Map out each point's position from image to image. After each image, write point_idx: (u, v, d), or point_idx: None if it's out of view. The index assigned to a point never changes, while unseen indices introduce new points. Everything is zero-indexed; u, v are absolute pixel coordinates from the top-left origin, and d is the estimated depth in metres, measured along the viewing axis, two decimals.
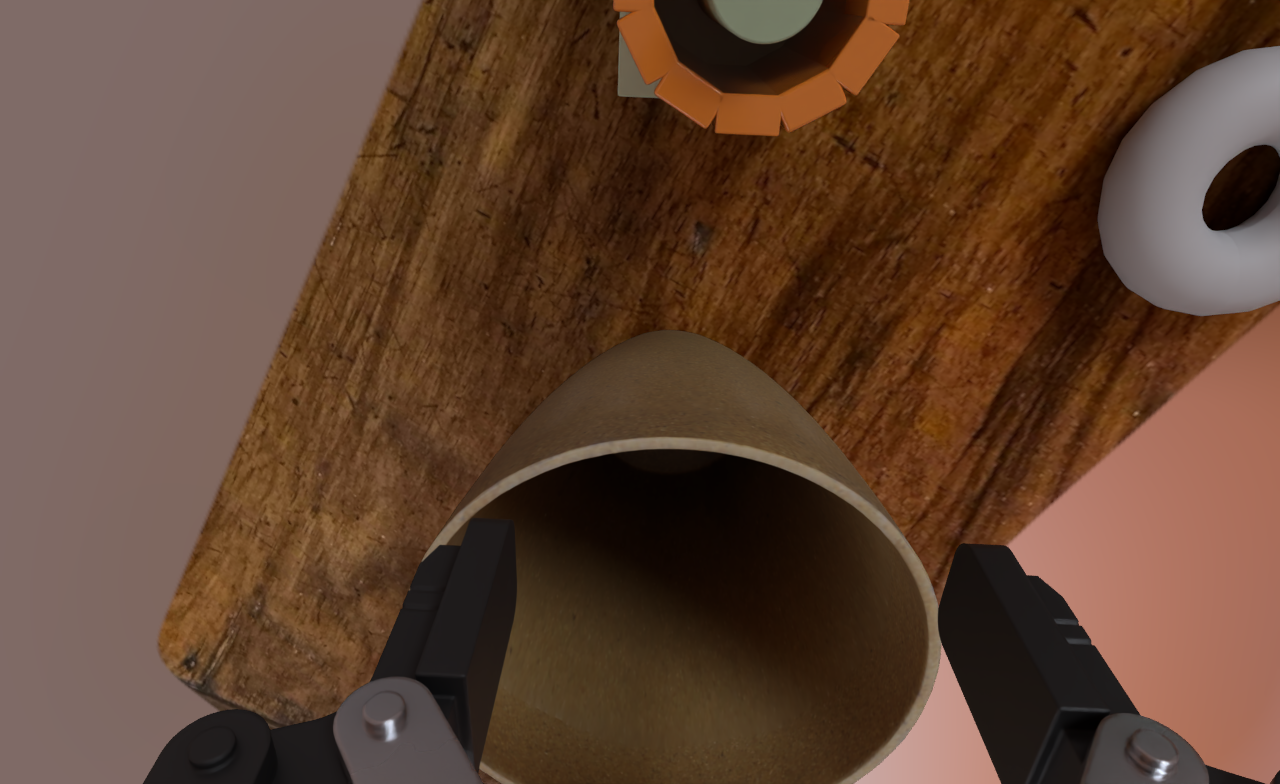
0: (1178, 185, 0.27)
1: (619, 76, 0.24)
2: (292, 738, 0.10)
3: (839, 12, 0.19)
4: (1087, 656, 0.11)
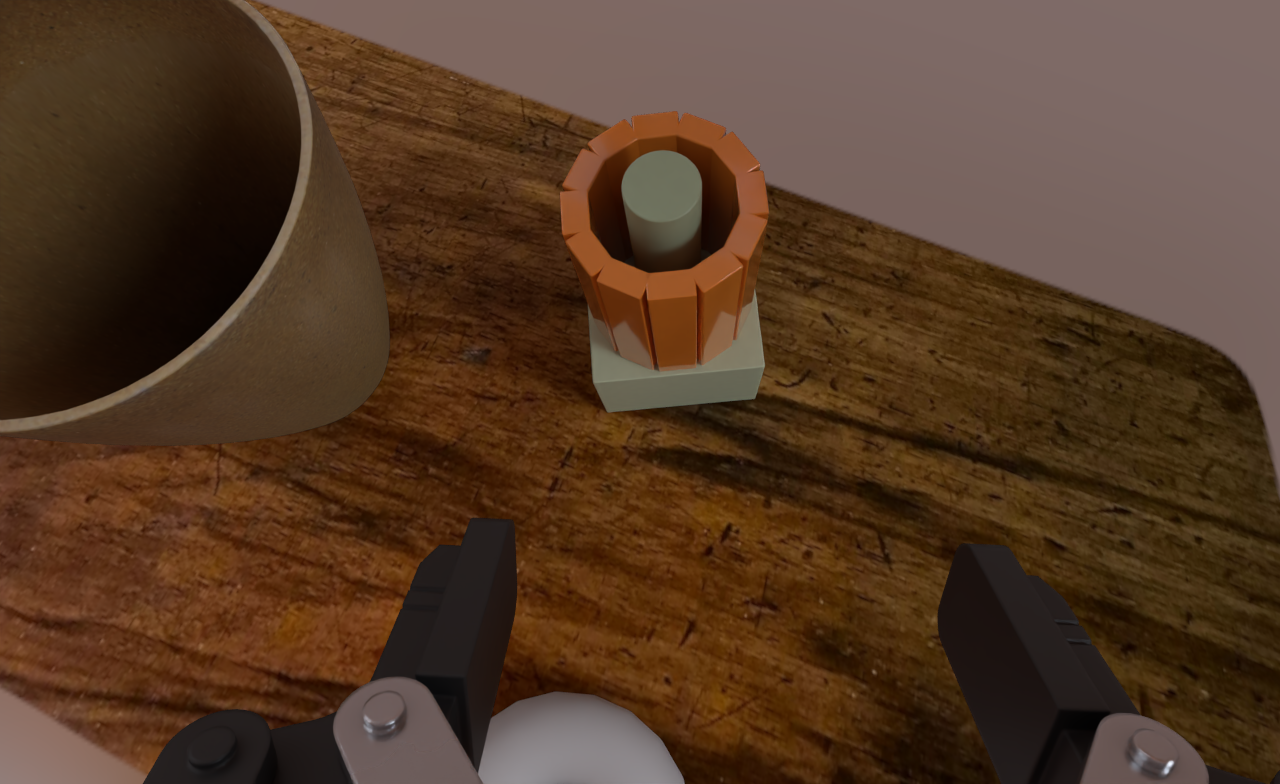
0: (559, 738, 0.28)
1: None
2: (291, 738, 0.10)
3: None
4: (1087, 656, 0.11)
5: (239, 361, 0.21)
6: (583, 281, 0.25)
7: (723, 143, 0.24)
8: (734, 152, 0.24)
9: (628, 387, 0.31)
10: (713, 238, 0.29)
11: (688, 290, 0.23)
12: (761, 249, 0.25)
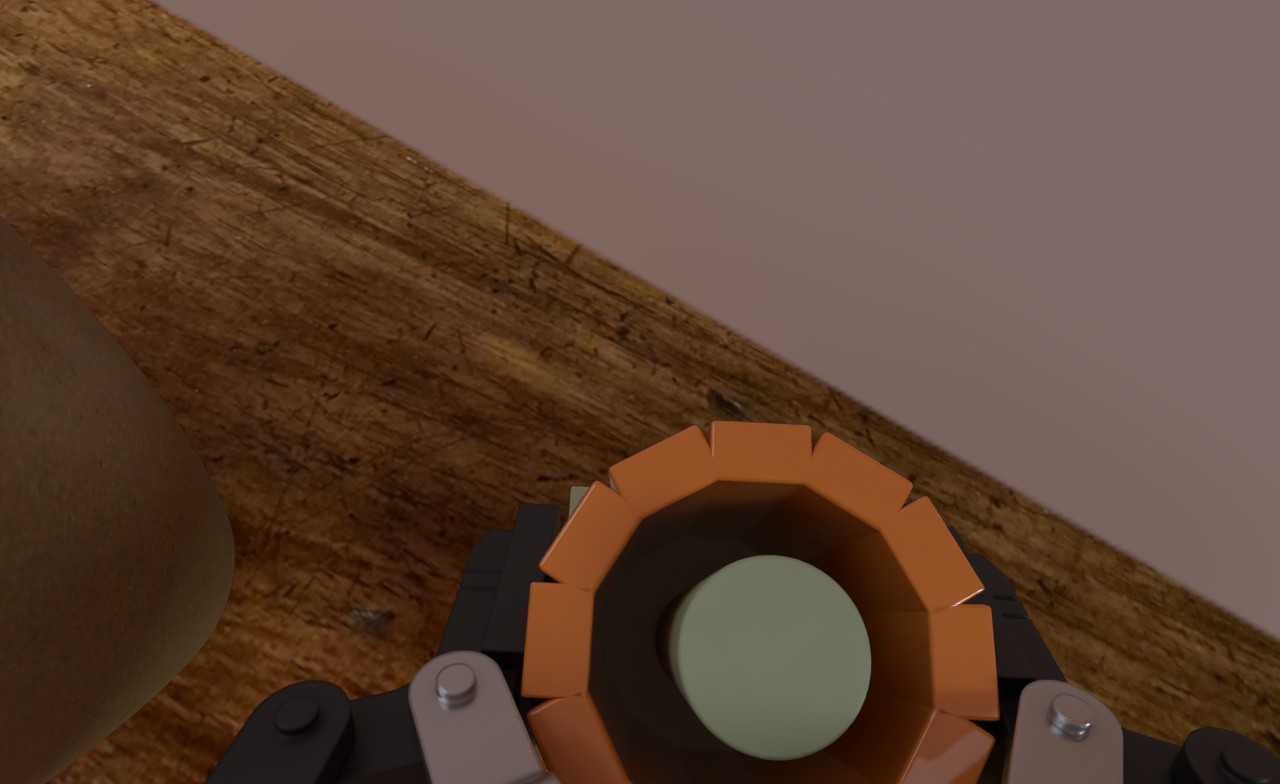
0: None
1: None
2: (366, 709, 0.10)
3: None
4: (1022, 629, 0.12)
5: None
6: None
7: (906, 523, 0.11)
8: (929, 550, 0.11)
9: None
10: None
11: None
12: None
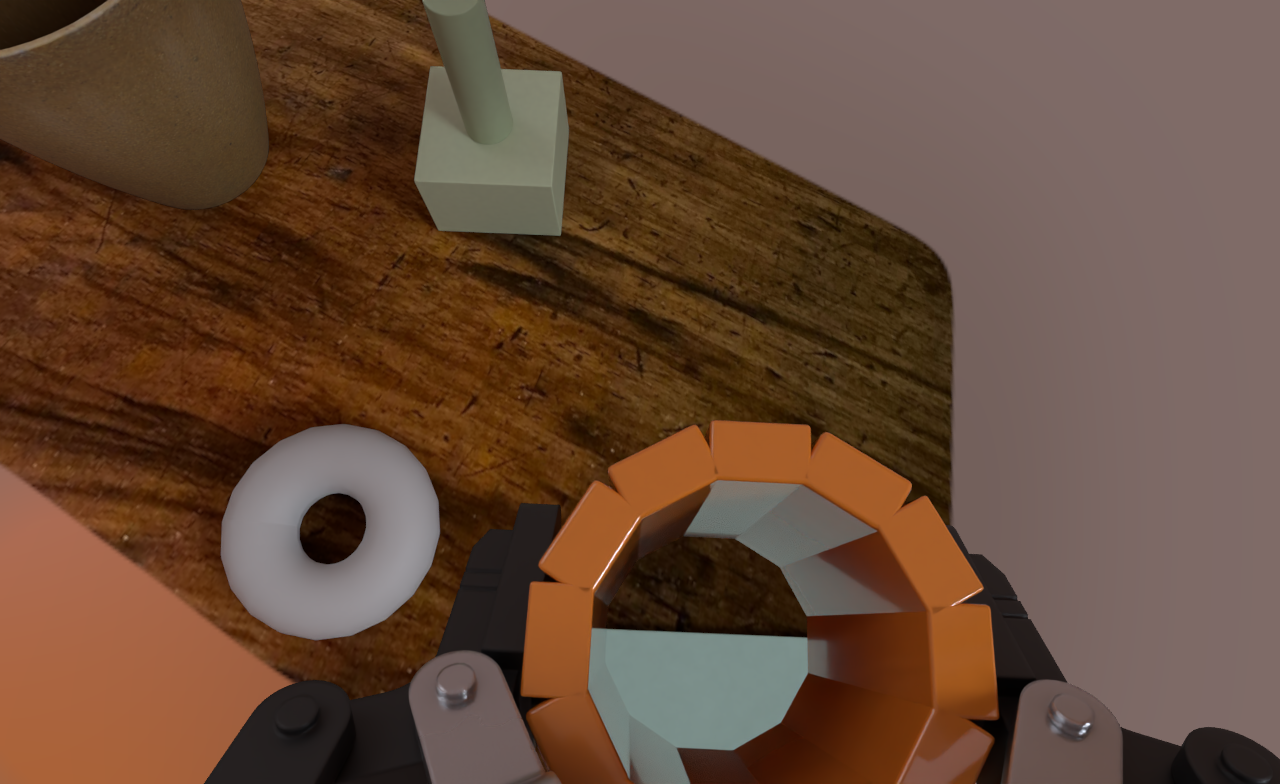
0: (338, 447, 0.35)
1: None
2: (367, 709, 0.10)
3: None
4: (1022, 629, 0.12)
5: (104, 61, 0.28)
6: None
7: (906, 522, 0.11)
8: (929, 549, 0.11)
9: (445, 194, 0.38)
10: (802, 575, 0.16)
11: None
12: None
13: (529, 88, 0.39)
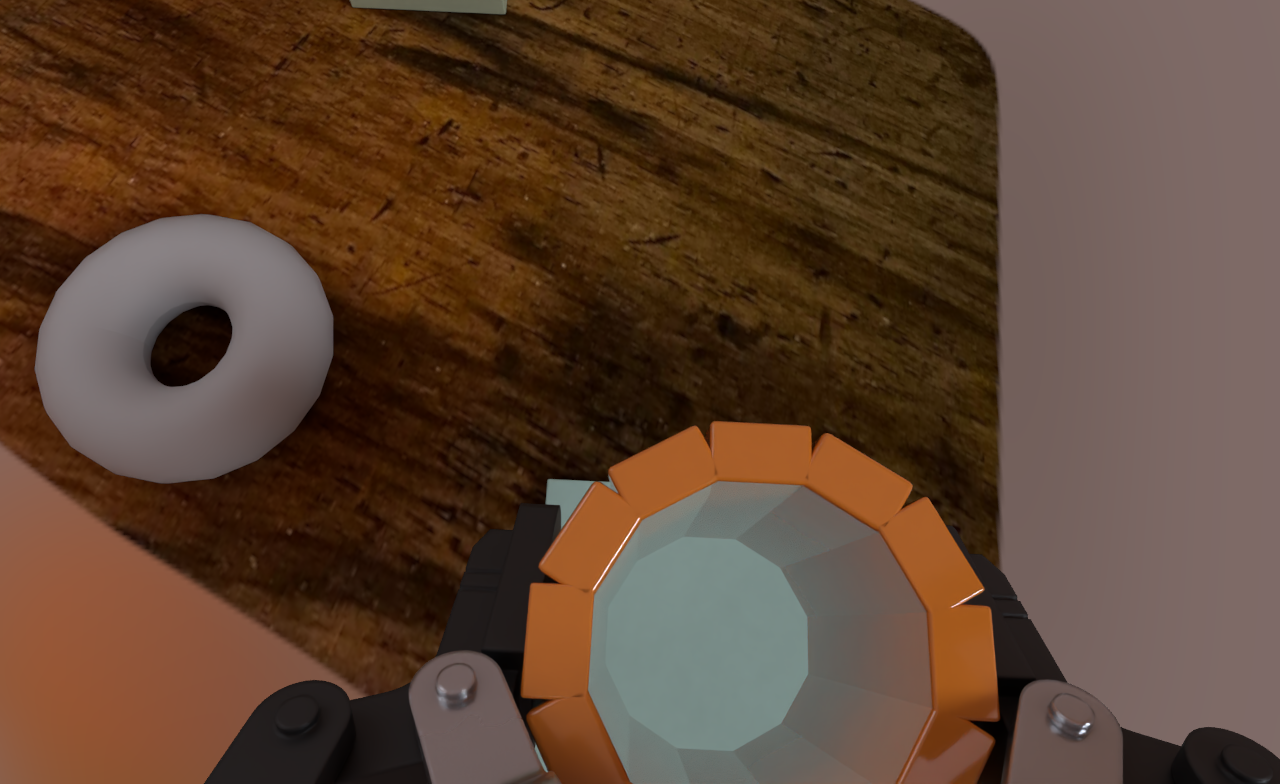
0: (196, 235, 0.27)
1: None
2: (366, 709, 0.10)
3: None
4: (1022, 629, 0.12)
5: None
6: None
7: (906, 524, 0.11)
8: (929, 550, 0.11)
9: None
10: (802, 575, 0.16)
11: None
12: None
13: None
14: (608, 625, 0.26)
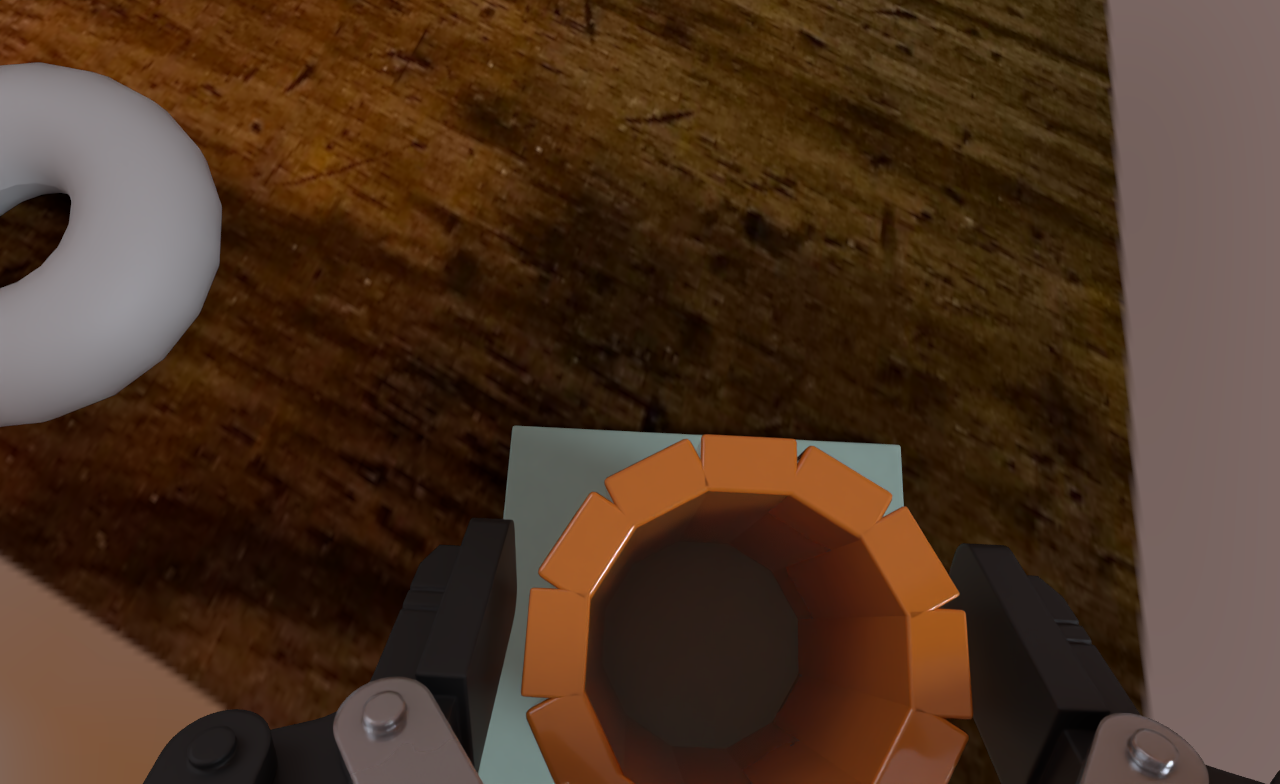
0: (22, 83, 0.19)
1: None
2: (292, 738, 0.10)
3: None
4: (1087, 656, 0.11)
5: None
6: None
7: (886, 532, 0.11)
8: (908, 557, 0.11)
9: None
10: (792, 579, 0.17)
11: None
12: None
13: None
14: None
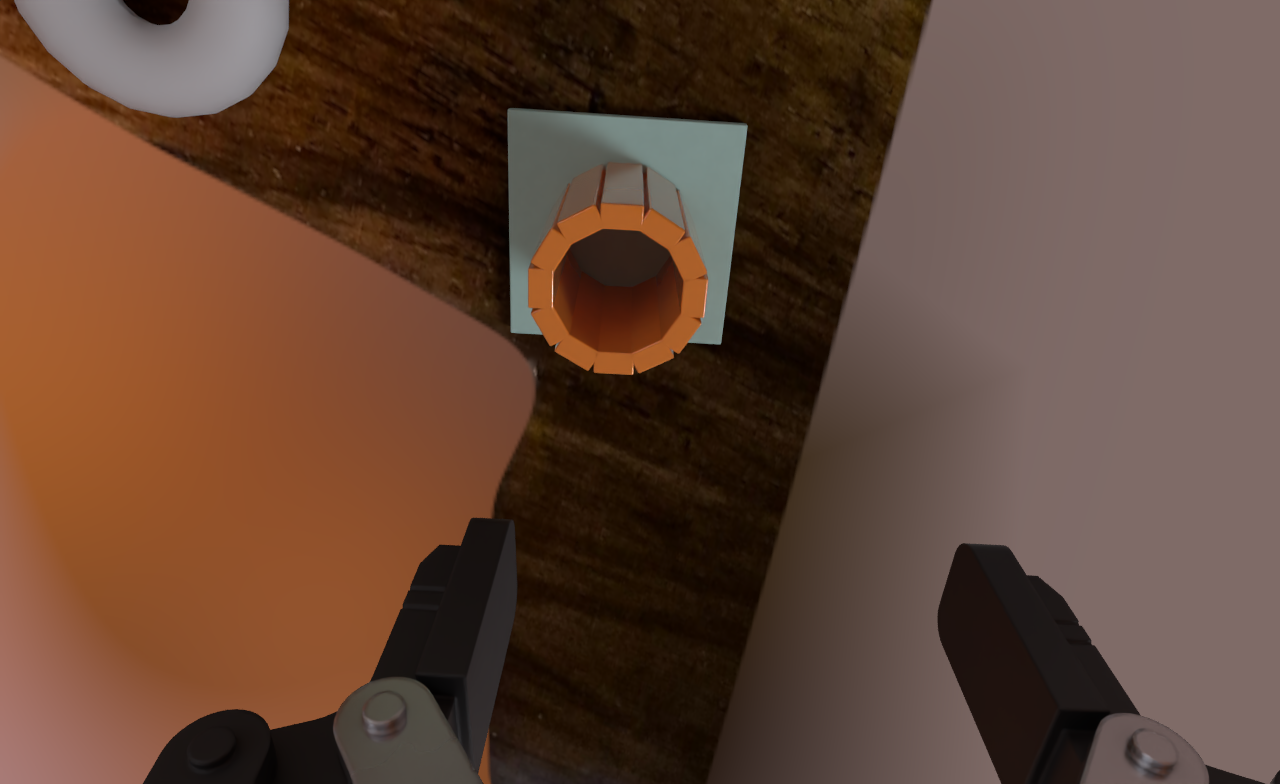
0: None
1: None
2: (292, 738, 0.10)
3: (601, 323, 0.31)
4: (1087, 656, 0.11)
5: None
6: None
7: (679, 248, 0.26)
8: (687, 258, 0.27)
9: None
10: None
11: (627, 370, 0.29)
12: None
13: None
14: None
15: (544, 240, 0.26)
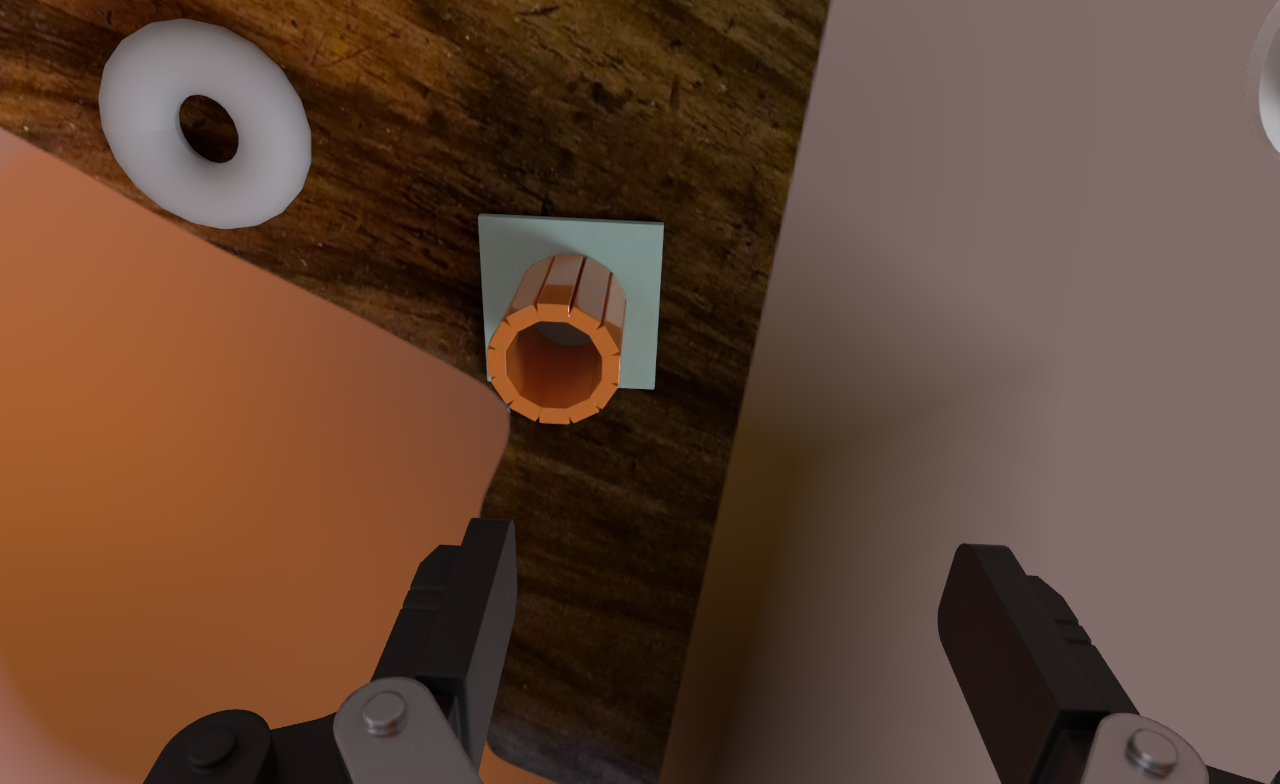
0: (180, 56, 0.35)
1: None
2: (292, 738, 0.10)
3: (549, 381, 0.40)
4: (1087, 656, 0.11)
5: None
6: None
7: (597, 334, 0.36)
8: (603, 341, 0.36)
9: None
10: None
11: (564, 420, 0.38)
12: None
13: None
14: None
15: (497, 329, 0.36)
